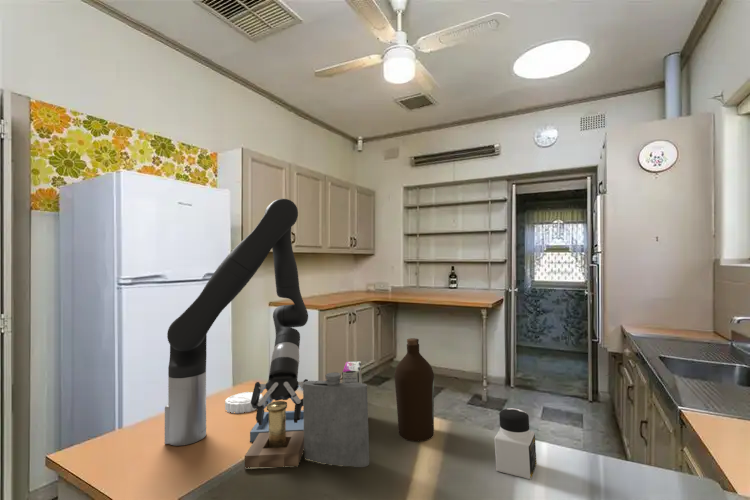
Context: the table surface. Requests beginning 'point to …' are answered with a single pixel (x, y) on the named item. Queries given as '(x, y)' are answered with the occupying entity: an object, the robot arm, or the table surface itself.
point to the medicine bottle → (515, 444)
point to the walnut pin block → (275, 451)
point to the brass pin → (277, 424)
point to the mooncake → (240, 403)
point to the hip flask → (336, 422)
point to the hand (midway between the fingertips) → (277, 422)
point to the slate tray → (289, 425)
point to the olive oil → (415, 395)
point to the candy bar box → (352, 372)
